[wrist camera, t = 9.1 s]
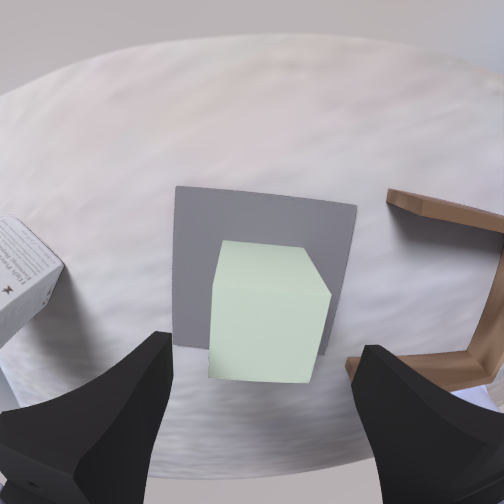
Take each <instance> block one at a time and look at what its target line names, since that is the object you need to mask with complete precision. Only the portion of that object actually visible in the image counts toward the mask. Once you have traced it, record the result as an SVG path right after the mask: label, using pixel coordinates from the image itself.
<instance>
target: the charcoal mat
mask: <svg viewBox="0 0 504 504" xmlns="http://www.w3.org/2000/svg"><path fill="white" fill-rule="evenodd" d="M356 211H357V206H356V205H351V204H344V203H337V202H330V201H323V200H315V199H307V198H299V197H291V196H282V195H274V194H264V193H255V192H245V191H234V190H223V189H211V188H199V187H185V186H176V191H175V209H174V231H173V267H172V323H173V345H181V346H190V347H199V348H208V349H209V347H210V325H211V307H212V289H213V282H214V277H215V273H216V268H217V264H218V259H219V255H220V251H221V246H222V242H223V240H226V241H237V242H247V243H258V244H269V245H279V246H290V247H300V248H304V249H305V251H306V252H307V254H308V256H309V257H310V259H311V261H312V262H313V264H314V266H315V268H316V269H317V271H318V273H319V274H320V276H321V278H322V279H323V281H324V283H325V284H326V286H327V288H328V290H329V291H330V293H331V299H330V304H329V308H328V312H327V317H326V321H325V325H324V329H323V333H322V337H321V341H320V345H319V349H318V352H317V355H324V354H325V350H326V347H327V343H328V339H329V335H330V332H331V328H332V324H333V320H334V316H335V312H336V308H337V304H338V300H339V295H340V291H341V287H342V282H343V278H344V273H345V268H346V264H347V259H348V254H349V249H350V244H351V238H352V233H353V228H354V222H355V216H356Z"/></svg>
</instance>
